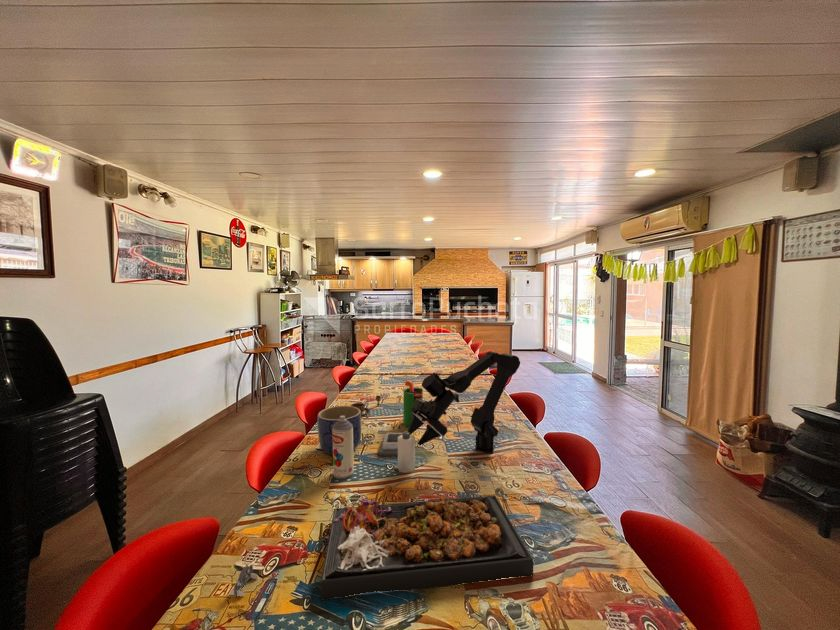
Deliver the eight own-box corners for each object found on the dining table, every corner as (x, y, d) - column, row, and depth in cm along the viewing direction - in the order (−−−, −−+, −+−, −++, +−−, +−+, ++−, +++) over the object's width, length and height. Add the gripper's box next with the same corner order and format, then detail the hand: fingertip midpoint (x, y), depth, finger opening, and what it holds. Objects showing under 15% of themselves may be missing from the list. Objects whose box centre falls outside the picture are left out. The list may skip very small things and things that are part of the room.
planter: (316, 461, 130) (315, 421, 129) (320, 442, 147) (319, 407, 146) (362, 456, 134) (362, 418, 133) (360, 438, 150) (360, 404, 149)
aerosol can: (329, 475, 121) (327, 417, 119) (344, 466, 126) (343, 411, 125) (343, 481, 117) (341, 421, 115) (358, 472, 122) (356, 415, 121)
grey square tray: (414, 441, 147) (414, 431, 147) (413, 455, 134) (413, 445, 134) (383, 440, 148) (383, 431, 147) (379, 455, 135) (378, 445, 134)
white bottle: (417, 465, 127) (417, 431, 126) (411, 474, 121) (411, 437, 120) (401, 463, 129) (401, 429, 128) (395, 471, 123) (394, 435, 122)
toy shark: (249, 605, 72) (248, 584, 71) (219, 601, 73) (218, 580, 72) (287, 551, 87) (286, 533, 86) (262, 548, 87) (261, 530, 87)
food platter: (320, 603, 72) (319, 554, 71) (334, 524, 97) (333, 487, 96) (533, 578, 78) (533, 533, 77) (495, 510, 102) (495, 475, 101)
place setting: (342, 410, 187) (342, 399, 187) (379, 405, 195) (379, 394, 194) (349, 421, 171) (349, 409, 171) (389, 416, 179) (389, 404, 178)
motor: (420, 428, 161) (419, 384, 159) (400, 427, 162) (400, 383, 161) (424, 420, 171) (424, 379, 169) (406, 419, 172) (405, 378, 171)
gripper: (415, 384, 135) (388, 417, 131) (439, 397, 118) (409, 436, 114) (433, 402, 139) (407, 434, 135) (459, 417, 122) (430, 455, 118)
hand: (413, 439), depth 125 cm, fingers open, 9 cm apart
